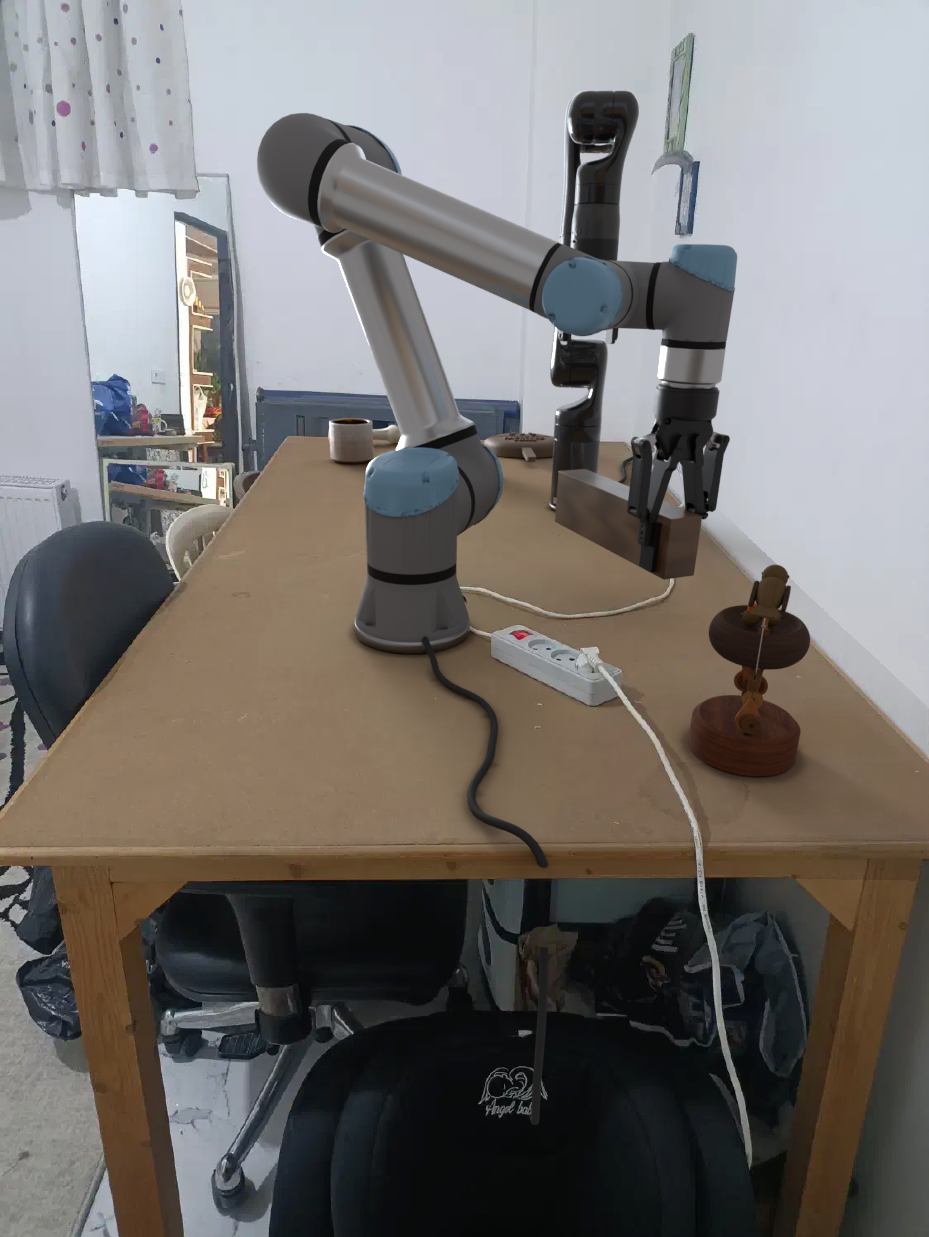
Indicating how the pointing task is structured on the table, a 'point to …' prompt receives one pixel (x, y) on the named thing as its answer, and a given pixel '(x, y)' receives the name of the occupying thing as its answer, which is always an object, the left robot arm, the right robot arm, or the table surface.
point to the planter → (351, 440)
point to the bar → (625, 522)
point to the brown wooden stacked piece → (752, 684)
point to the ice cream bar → (521, 445)
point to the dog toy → (385, 434)
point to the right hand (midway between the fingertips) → (587, 344)
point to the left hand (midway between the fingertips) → (664, 566)
